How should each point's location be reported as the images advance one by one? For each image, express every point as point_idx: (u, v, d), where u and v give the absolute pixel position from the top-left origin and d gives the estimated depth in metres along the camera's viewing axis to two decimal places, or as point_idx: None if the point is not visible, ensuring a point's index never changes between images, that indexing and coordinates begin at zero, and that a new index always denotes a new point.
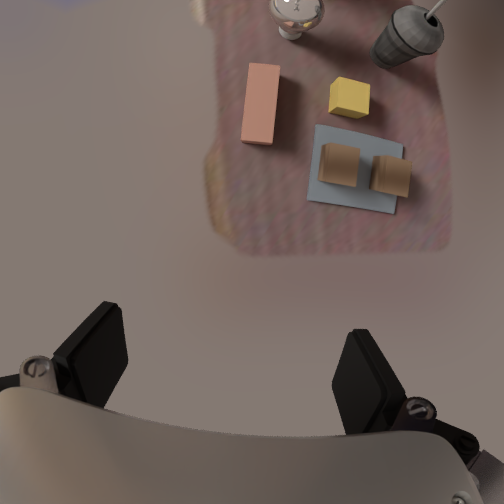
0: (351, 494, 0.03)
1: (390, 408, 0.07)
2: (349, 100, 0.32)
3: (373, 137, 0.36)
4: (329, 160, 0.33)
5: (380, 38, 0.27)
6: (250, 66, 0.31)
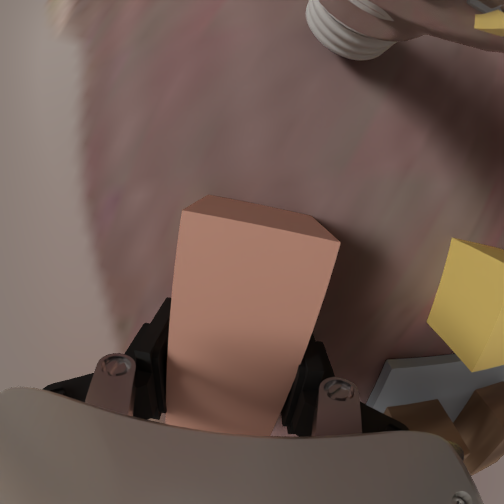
0: (351, 494, 0.03)
1: (311, 386, 0.08)
2: None
3: None
4: None
5: None
6: (185, 232, 0.07)
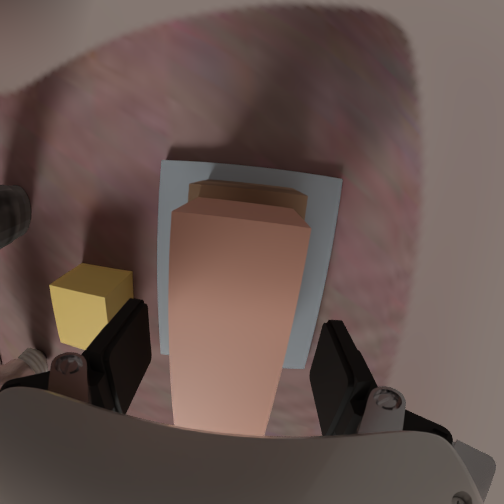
0: (351, 494, 0.03)
1: (358, 397, 0.07)
2: (92, 333, 0.15)
3: (160, 243, 0.17)
4: None
5: None
6: (175, 230, 0.08)
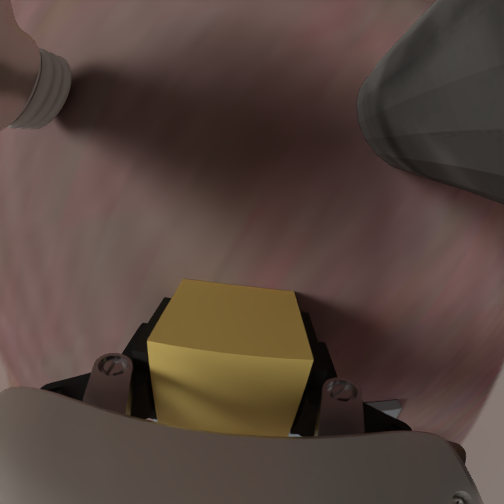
0: (351, 494, 0.03)
1: (314, 387, 0.08)
2: (204, 423, 0.08)
3: None
4: None
5: (423, 49, 0.04)
6: None
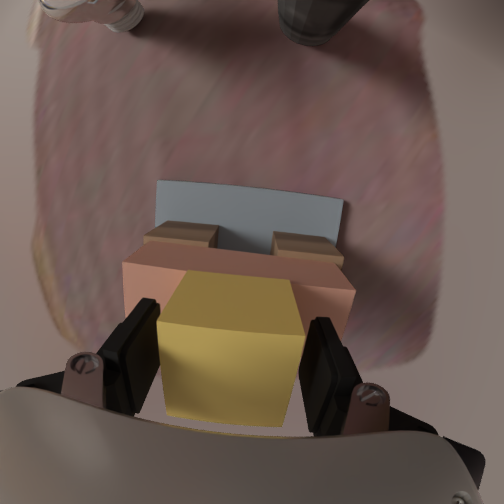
0: (351, 494, 0.03)
1: (342, 393, 0.07)
2: (208, 400, 0.09)
3: (274, 192, 0.20)
4: None
5: None
6: (344, 292, 0.13)
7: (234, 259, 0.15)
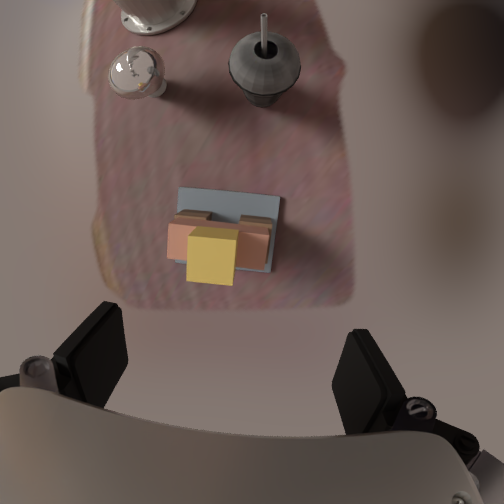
0: (351, 494, 0.03)
1: (390, 408, 0.07)
2: (203, 270, 0.27)
3: (241, 193, 0.38)
4: None
5: None
6: (263, 236, 0.30)
7: (217, 224, 0.33)
